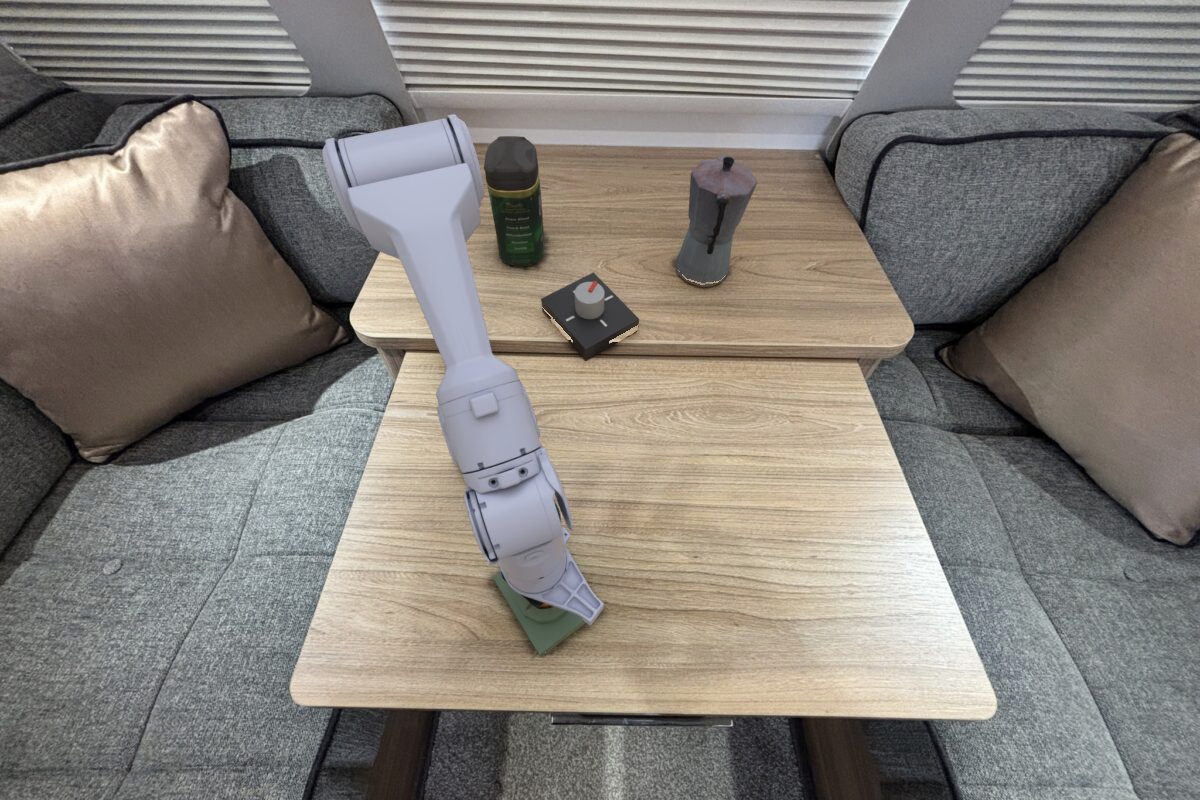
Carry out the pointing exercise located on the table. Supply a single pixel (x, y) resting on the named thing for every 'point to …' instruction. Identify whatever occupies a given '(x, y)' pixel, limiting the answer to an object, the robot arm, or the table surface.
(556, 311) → the dial panel
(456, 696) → the table surface
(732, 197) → the moka pot
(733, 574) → the table surface
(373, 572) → the table surface
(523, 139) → the coffee jar
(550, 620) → the base
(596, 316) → the temp dial
